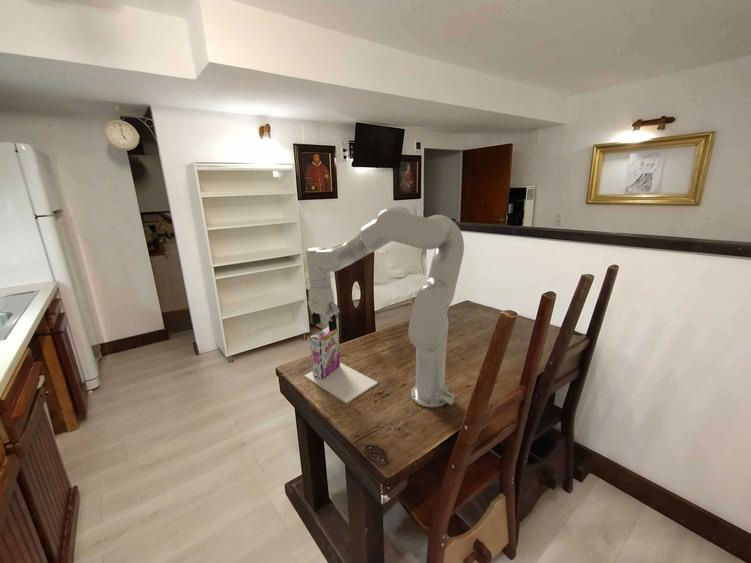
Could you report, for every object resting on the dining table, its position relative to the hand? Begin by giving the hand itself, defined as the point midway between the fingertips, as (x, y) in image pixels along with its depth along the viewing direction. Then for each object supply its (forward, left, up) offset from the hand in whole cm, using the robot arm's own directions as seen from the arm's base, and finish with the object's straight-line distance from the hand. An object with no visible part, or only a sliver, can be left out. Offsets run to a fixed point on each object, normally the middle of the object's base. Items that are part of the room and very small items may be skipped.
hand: (324, 326), depth 120 cm
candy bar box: (0, 0, -19) cm, 19 cm away
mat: (-7, 0, -19) cm, 21 cm away
